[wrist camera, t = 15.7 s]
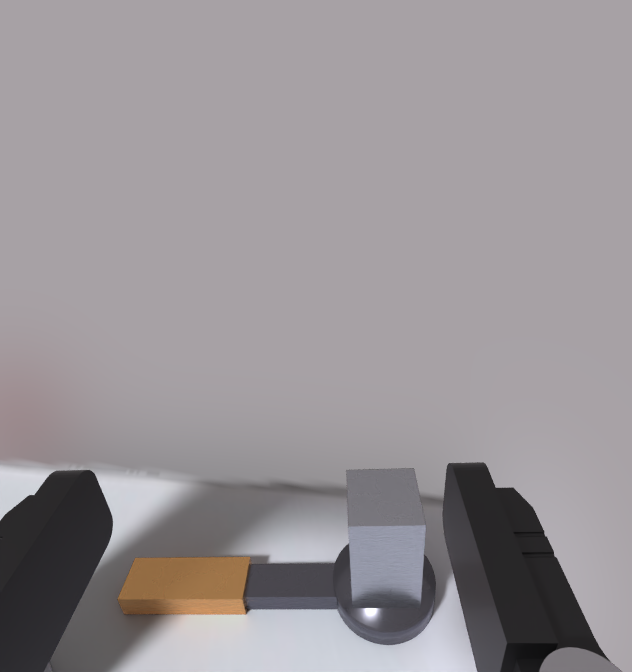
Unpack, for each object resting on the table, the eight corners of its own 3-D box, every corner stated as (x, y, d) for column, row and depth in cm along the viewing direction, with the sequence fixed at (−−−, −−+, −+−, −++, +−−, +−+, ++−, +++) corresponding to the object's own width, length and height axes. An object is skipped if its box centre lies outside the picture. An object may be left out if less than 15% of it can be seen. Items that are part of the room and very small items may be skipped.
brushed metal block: (352, 608, 33) (348, 526, 29) (350, 548, 38) (346, 469, 34) (420, 607, 33) (425, 525, 29) (410, 547, 38) (413, 468, 33)
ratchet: (112, 643, 34) (90, 600, 32) (150, 550, 41) (134, 508, 39) (443, 645, 33) (448, 599, 30) (424, 547, 40) (427, 503, 37)
